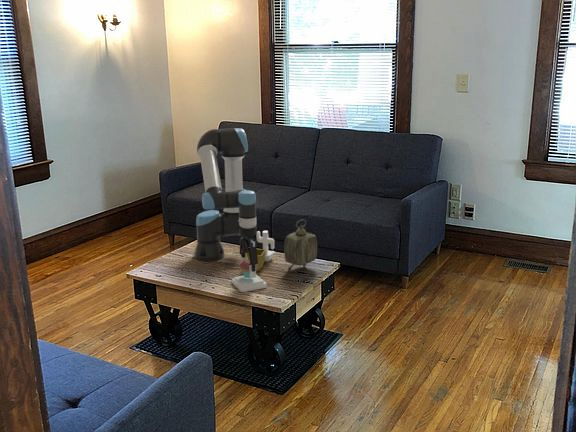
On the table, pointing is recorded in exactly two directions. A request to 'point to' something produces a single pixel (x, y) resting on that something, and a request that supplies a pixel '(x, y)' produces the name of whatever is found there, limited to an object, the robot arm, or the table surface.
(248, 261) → the cupcake
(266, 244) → the figurine
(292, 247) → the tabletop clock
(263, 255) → the flower pot
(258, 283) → the pedestal
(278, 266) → the table surface
